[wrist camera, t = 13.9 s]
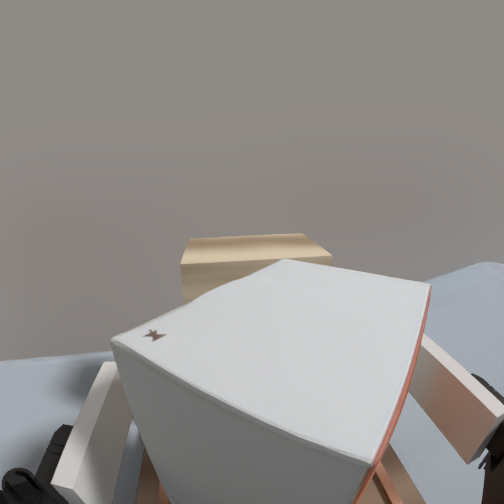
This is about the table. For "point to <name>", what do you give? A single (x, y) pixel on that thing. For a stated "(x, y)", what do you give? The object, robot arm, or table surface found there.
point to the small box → (275, 384)
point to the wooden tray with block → (236, 267)
